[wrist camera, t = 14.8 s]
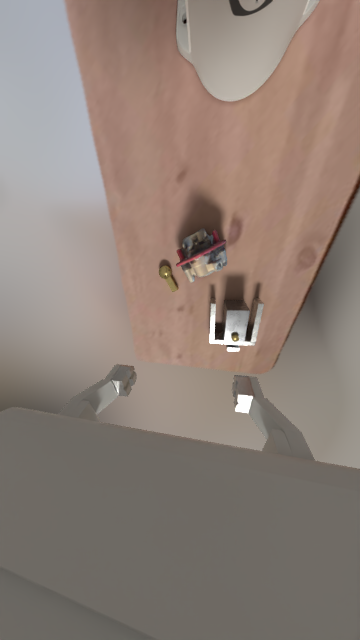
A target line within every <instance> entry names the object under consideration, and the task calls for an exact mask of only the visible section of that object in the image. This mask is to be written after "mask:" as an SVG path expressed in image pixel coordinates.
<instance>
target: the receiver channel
mask: <svg viewBox="0 0 360 640" xmlns="http://www.w3.org/2000/svg"><path fill="white" fill-rule="evenodd" d="M263 306H264V303H263V302H262V301H261V300H260V299H259V298H254V301H253V306H252V312H251V317H250V323H249V328H248V334H246V336H245V341H244V345H255V342H256V337H257V333H258V328H259V324H260V319H261V315H262V310H263ZM215 310H216V301H215V298H211V310H210V343H216V344H224V341H223V334H222V333H214V330H215ZM226 346H227V351H238V352H239V345H228V344H226Z"/></svg>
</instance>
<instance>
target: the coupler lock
mask: <svg viewBox="0 0 360 640" xmlns="http://www.w3.org/2000/svg"><path fill="white" fill-rule="evenodd" d="M249 313H250V310H249V308H248V307H247V305H246V303H245V301H244V300H224V312H223V324H222V334H223V341H224V344H228V345H244V341H245V336H246V330H247V324H248V319H249Z"/></svg>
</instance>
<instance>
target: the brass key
mask: <svg viewBox="0 0 360 640" xmlns="http://www.w3.org/2000/svg"><path fill="white" fill-rule="evenodd" d="M171 274H172V270H171V268H170V267H169V266H167V265H164V266H162V267H161V268H160V269H159V275H160V276H161V277H162V278H164V279H165V280H166V281H167V283H168V285H169V287H170V288H171V290H172V292H174V291H176V290H178V286H177V285H176V283H175V281H174V279H173V277H172V275H171Z"/></svg>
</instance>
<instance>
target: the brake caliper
mask: <svg viewBox="0 0 360 640" xmlns="http://www.w3.org/2000/svg"><path fill="white" fill-rule="evenodd" d="M225 243H226V240H223V241H220V239H219V237H218V233H217V231H216V230H213V232H212V235H211V236H209V235H208V234H207V233H206V231H205V229H204V228H202V229H201V230H198V231H197V232H196V233H194V234H192V235H190V236H188V237H186V238H184V239H183V243H182V245H183V248H184V249H178V250H177V254H178V256H179V258H180V262H179V263H177V264H176V266H177V267H178V266H181V267H182V269H183V271H184V272H185V274H186V276H187V278H188V280H189V281H190V282H194V278H195V276H196V275H197V277H204V276H207V275H209V274H211V273H212V272H214V271H219V270H221V269H223V266H226V265H227V257H226V251H225V248H224V244H225Z"/></svg>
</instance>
